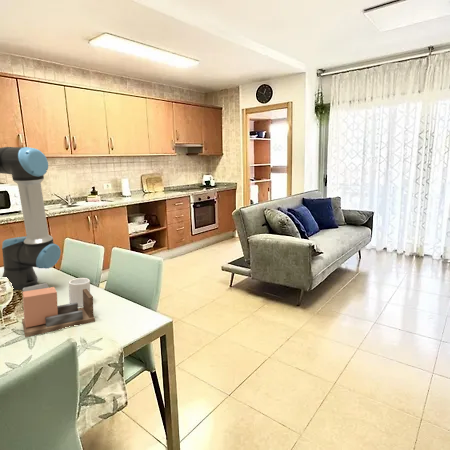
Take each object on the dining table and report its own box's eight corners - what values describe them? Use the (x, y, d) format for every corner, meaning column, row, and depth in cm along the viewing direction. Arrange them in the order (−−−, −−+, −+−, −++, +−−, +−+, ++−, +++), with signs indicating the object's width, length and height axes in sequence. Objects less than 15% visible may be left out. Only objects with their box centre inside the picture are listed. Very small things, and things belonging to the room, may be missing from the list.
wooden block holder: (25, 337, 109) (23, 310, 107) (22, 323, 118) (20, 298, 117) (94, 321, 122) (94, 297, 120) (87, 309, 131) (86, 287, 130)
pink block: (25, 327, 111) (23, 297, 109) (24, 320, 116) (22, 291, 114) (58, 320, 117) (56, 292, 115) (55, 314, 122) (54, 286, 120)
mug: (84, 295, 146) (83, 274, 145) (93, 303, 137) (92, 281, 136) (64, 298, 141) (64, 277, 140) (72, 308, 132) (72, 285, 131)
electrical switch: (26, 312, 127) (24, 289, 126) (21, 309, 131) (19, 287, 130) (51, 305, 135) (49, 283, 134) (46, 302, 138) (44, 281, 137)
